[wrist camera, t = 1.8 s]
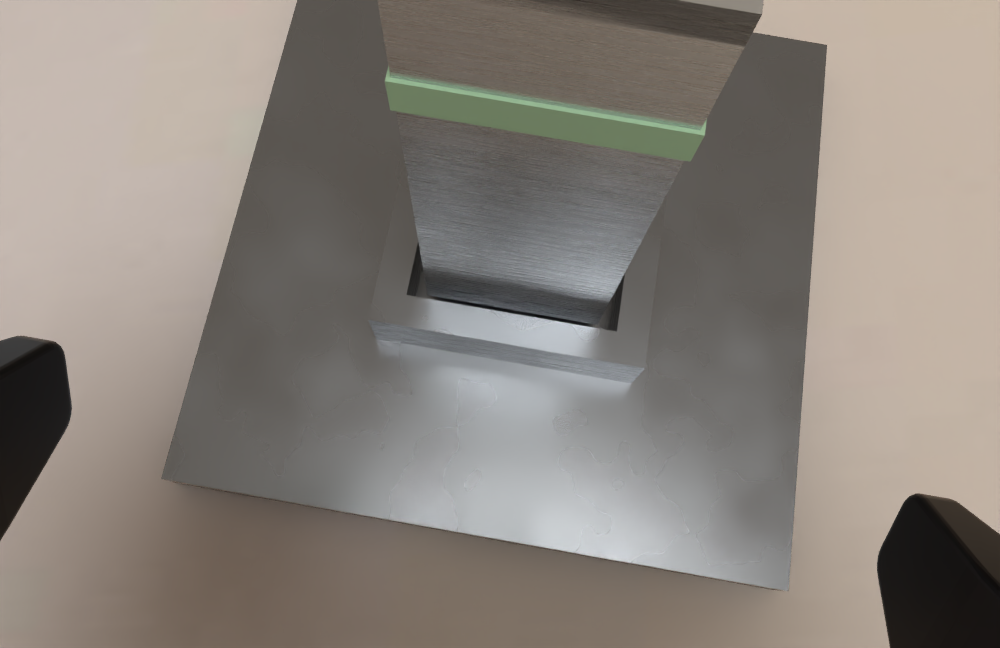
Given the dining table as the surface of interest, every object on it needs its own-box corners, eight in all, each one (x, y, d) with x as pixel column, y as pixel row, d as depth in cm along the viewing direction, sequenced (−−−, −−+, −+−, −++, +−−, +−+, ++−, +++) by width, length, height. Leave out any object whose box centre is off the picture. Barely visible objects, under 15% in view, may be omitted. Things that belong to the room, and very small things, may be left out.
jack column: (599, 327, 21) (767, 20, 9) (424, 297, 22) (361, -48, 9) (622, 168, 23) (796, -286, 11) (457, 140, 23) (439, -344, 11)
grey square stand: (774, 590, 21) (2220, 732, 4) (174, 482, 22) (-1158, 135, 4) (813, 64, 26) (1557, -1018, 8) (315, -20, 26) (-17, -1246, 8)
